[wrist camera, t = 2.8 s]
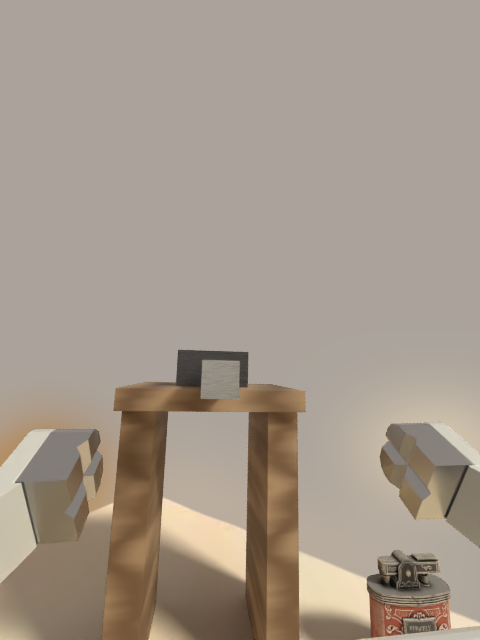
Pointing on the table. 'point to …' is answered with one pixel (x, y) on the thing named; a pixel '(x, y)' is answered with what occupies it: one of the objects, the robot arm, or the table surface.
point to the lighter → (408, 595)
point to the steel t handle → (213, 372)
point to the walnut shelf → (262, 505)
